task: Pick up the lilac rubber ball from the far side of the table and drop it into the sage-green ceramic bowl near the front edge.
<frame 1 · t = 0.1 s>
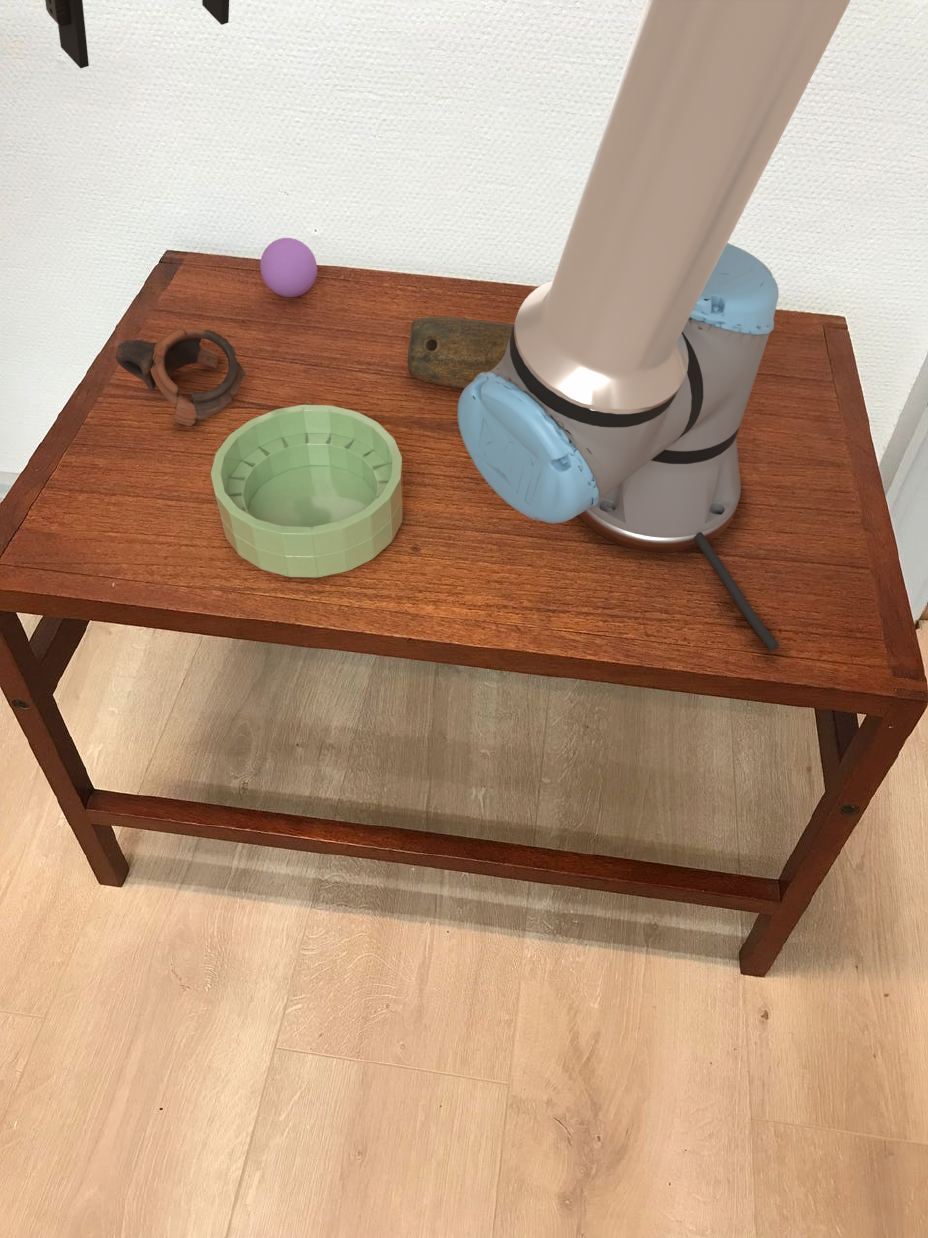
hand: (147, 34, 82), 28 cm above the table, tool tilted 20°, fingers open, 13 cm apart
bowl: (314, 516, 86), on the table
ball: (288, 267, 104), point 3 cm above the table
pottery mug: (188, 397, 96), on the table
stone weight: (484, 385, 98), on the table
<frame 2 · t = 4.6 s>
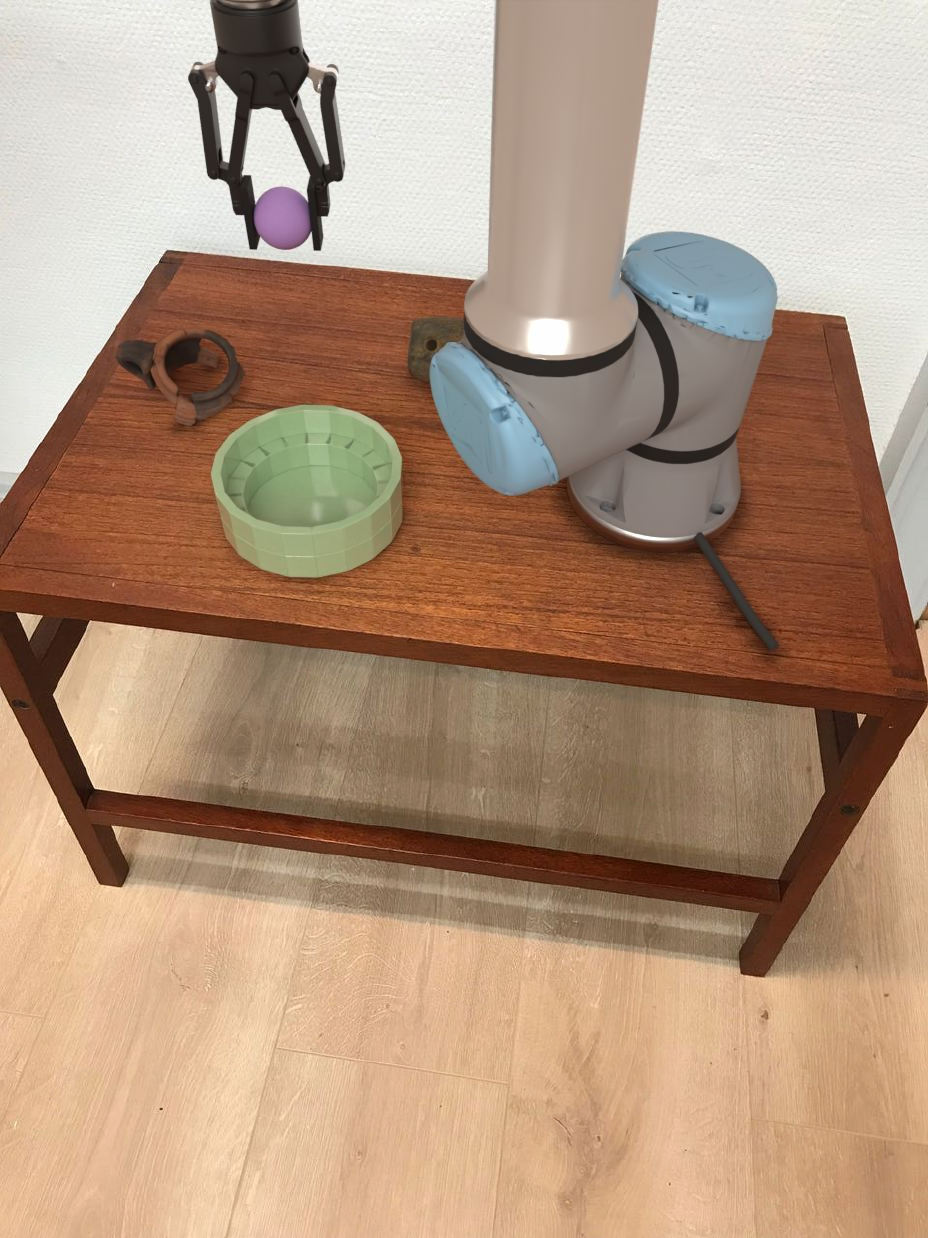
hand: (286, 242, 102), 6 cm above the table, tool pointing down, fingers closed on ball, 6 cm apart
ball: (283, 218, 100), point 9 cm above the table, touching gripper
everything else where it was.
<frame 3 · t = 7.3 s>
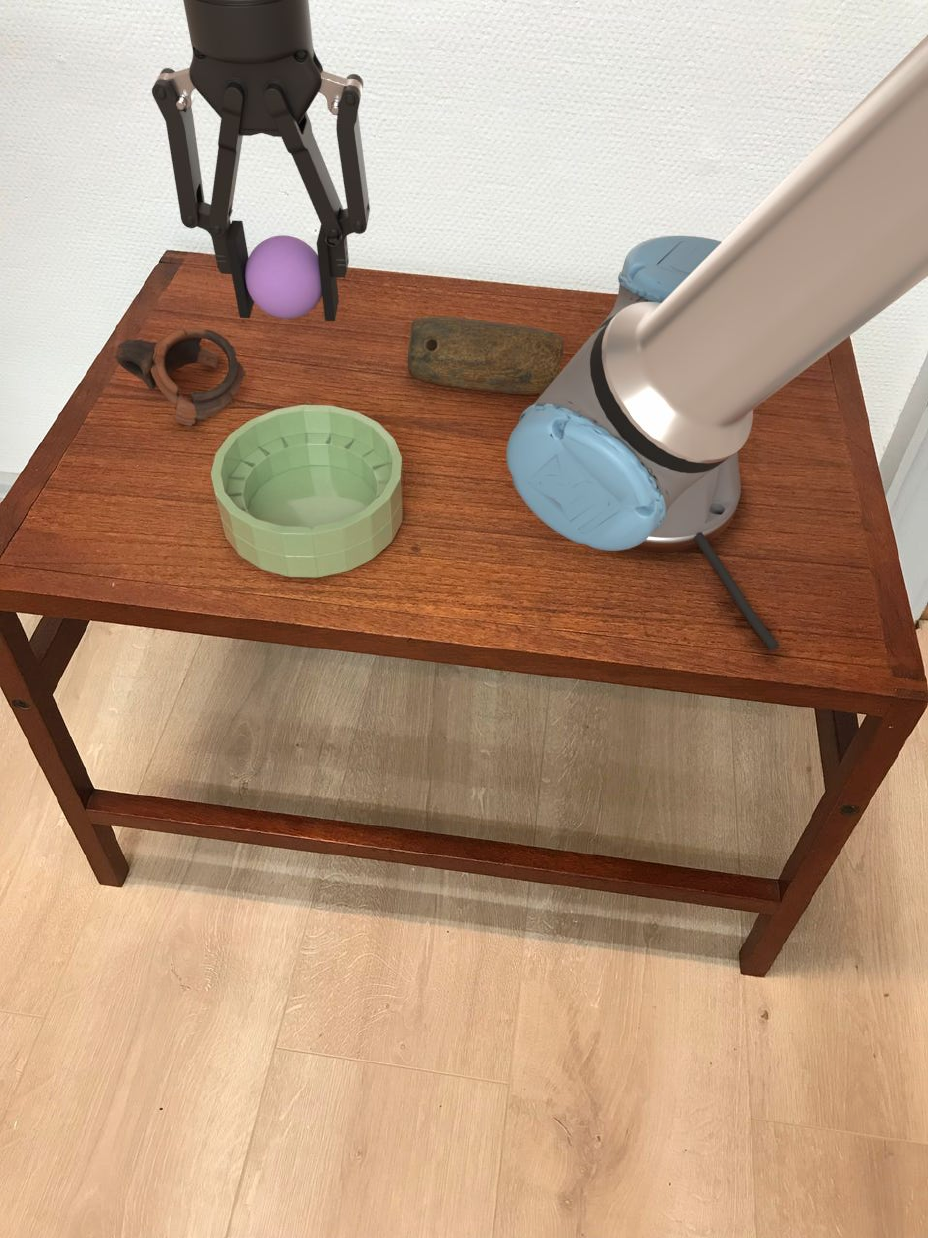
hand: (289, 308, 76), 17 cm above the table, tool pointing down, fingers closed on ball, 6 cm apart
ball: (285, 277, 74), point 19 cm above the table, touching gripper
everything else where it was.
when the fingers open (4 cm above the table, at t = 10.5 s): ball drops 3 cm, resting on bowl.
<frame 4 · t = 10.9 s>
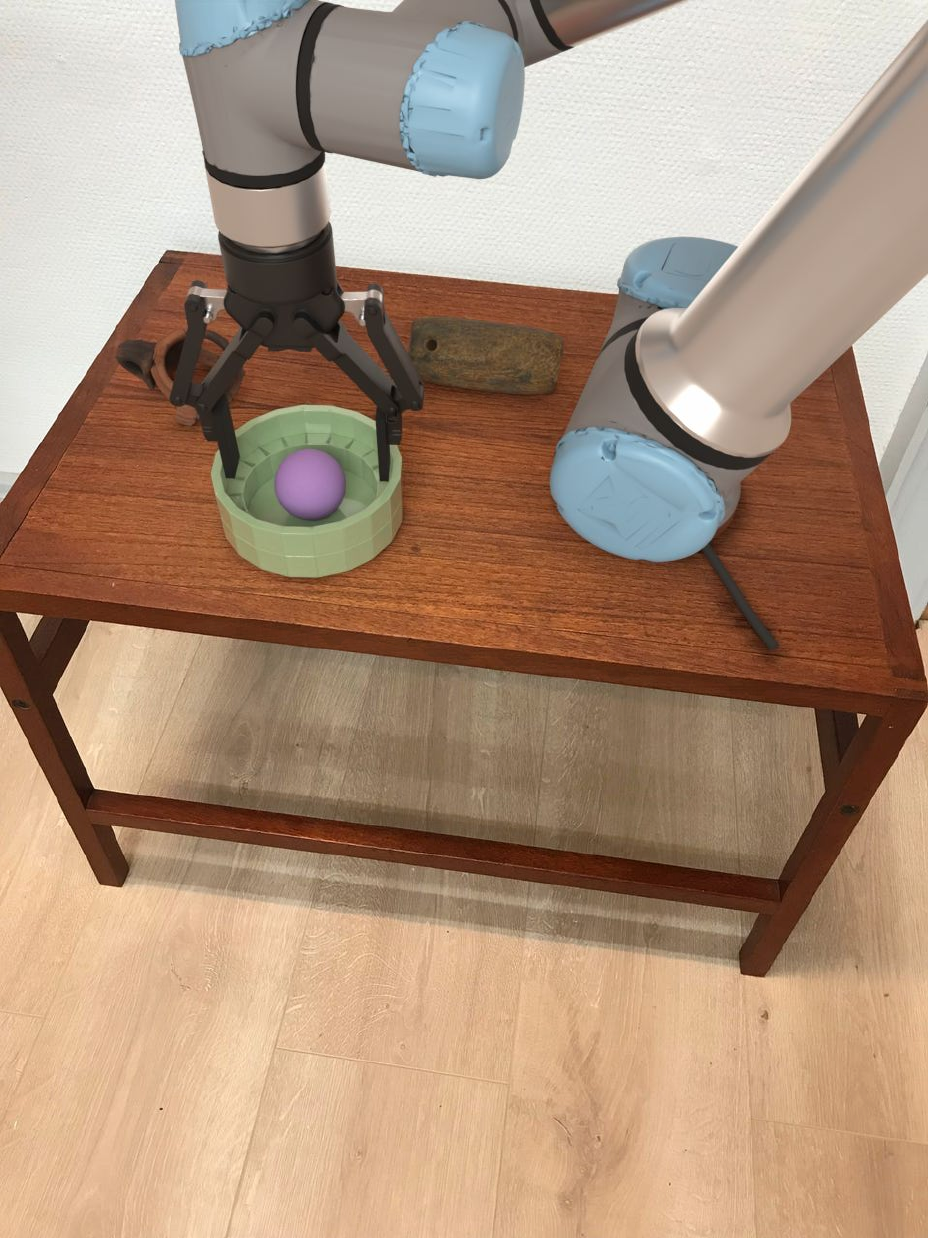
hand: (309, 468, 81), 6 cm above the table, tool pointing down, fingers open, 12 cm apart
ball: (310, 484, 83), point 4 cm above the table, touching bowl
everything else where it was.
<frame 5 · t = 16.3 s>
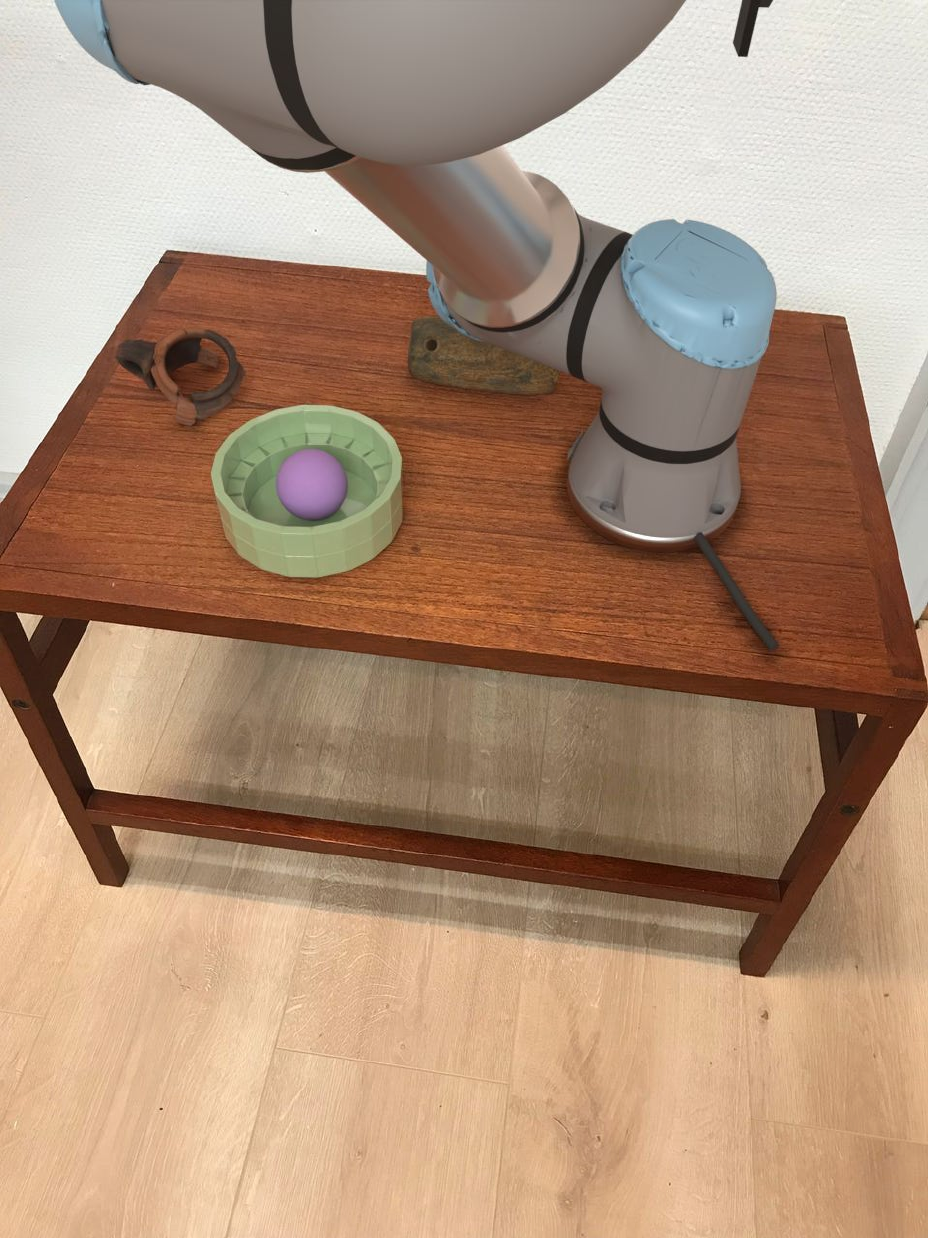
hand: (656, 47, 80), 29 cm above the table, tool pointing down, fingers open, 13 cm apart
nothing on the table moved.
at the end: ball inside the target area in the bowl (0.2 cm from its centre), point 3.8 cm above the bowl's base; the gripper is holding nothing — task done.
